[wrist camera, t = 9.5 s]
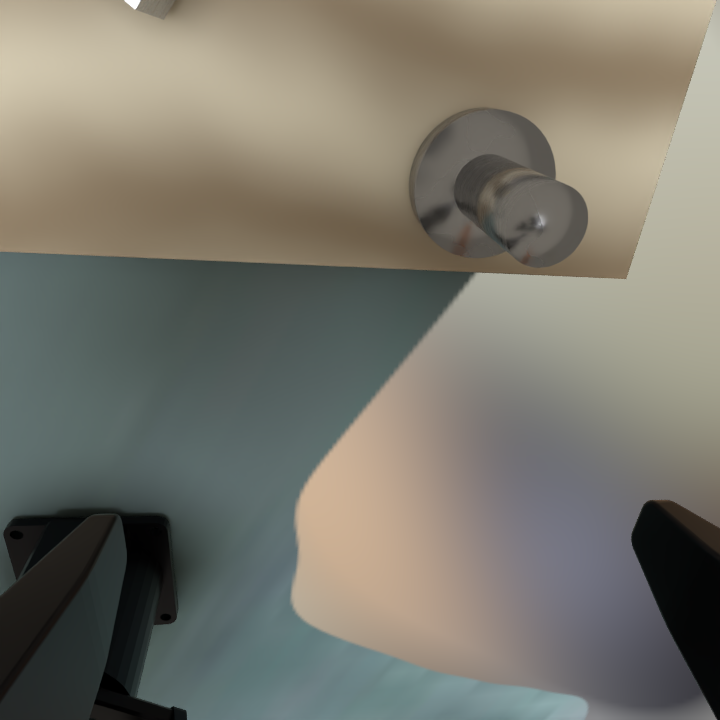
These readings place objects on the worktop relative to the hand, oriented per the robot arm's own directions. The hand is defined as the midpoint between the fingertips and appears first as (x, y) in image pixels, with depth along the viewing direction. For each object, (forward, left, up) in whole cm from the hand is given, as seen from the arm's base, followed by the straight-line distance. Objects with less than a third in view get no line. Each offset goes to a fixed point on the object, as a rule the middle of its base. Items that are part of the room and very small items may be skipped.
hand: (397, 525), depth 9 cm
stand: (+4, -4, -11) cm, 12 cm away
